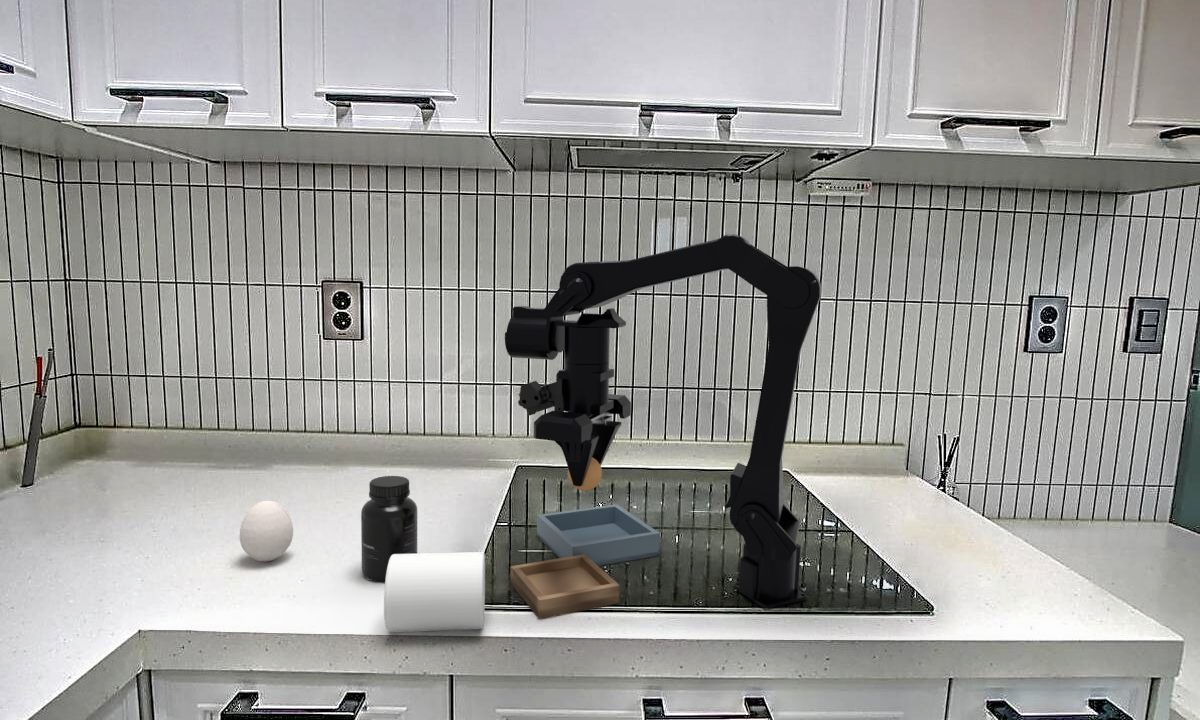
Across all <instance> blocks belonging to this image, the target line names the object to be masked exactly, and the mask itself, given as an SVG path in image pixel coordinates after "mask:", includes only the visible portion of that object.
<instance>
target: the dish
mask: <svg viewBox="0 0 1200 720" xmlns="http://www.w3.org/2000/svg"><path fill="white" fill-rule="evenodd" d="M536 537H537V538H538V539H539V540H540V541H541V542H542V543H543V544H544V545H545V546H546V547H547V548H548V549H549V550H550V551H551V552H552V553H553V554H554V555H555V556H556V557H558V558H564V557H570V556H576V555H582V554H585V555H586V556H587V557H588V558H589V559H591V560H592V561H593V562H594V563H595V564H596V565H597V566H599V567H603V566H606V565H607V566H608V565H612V564H613V565H614V564H618V563H624V562H630V561H635V560H636V561H637V560H641V559H646V558H653V557H658V556H660V543H661V542H660V541H661V539H660V538H661V533H660V532H659V531H657V530H656V529H654V528H653V527H652V526H650V525H649V524H647V523H646V522H645V521H642V520H641V519H639V518H638V517H637V516H635V515H633V514H632V513H631V512H630V511H628V510H626V509H625V508H624V507H622V506H620V505H619V504H617V503H616V504H610V505H602V506H595V507H594V506H593V507H587V508H580V509H579V508H578V509H574V510H573V509H572V510H565V511H557V512H550V513H543V514H537V515H536Z"/></svg>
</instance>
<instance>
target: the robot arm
mask: <svg viewBox="0 0 1200 720" xmlns="http://www.w3.org/2000/svg"><path fill="white" fill-rule="evenodd" d="M725 270H729V271H731V272H732V273H734V274H735V275H737V276H738V277H739V278H741V279H742V280H744V281H745V282H747V283H748V284H750V285H751V286H752V287H754V288H755V289H757V290H758V291H760V292H761V293H763V294H765V296H766V319H767V320H766V321H767V322H766V323H767V335H768V348H767V354H766V359H765V366H764V371H763V376H762V377H763V378H762V383H761V390H760V393H759V400H758V407H757V413H756V419H755V423H754V424H755V425H754V430H753V436H752V442H751V448H750V454H749V458H748V462H747V463H746V464H743V463H740V462H737V463H736V464H735V467H734V468H733V471H732V472H731V474H730V479H729V489H730V490H729V497H728V499H727V501H726V503H725V505H724V508H725V509H730V510H729V521H730V525H731V526H732V527H733V528H734V529H735V531H736V532H737V533H739V534H740V535H741V536H742V538H743V540H744V543H743V549H742V557H740V558H739V559H740V561H739V576H738V577H739V579H738V581H737V582H734V583H733V585H732V586H733V588H734V589H735V590H736V591H738V592H739V593H740V594H742V595H744V596H745V597H747V598H748V599H750V600H751V601H752V602H754V603H755V604H757V605H758V606H760V607H762V608H763V609H773V608H775V607H781V606H785V605H788V604H794V603H797V602H802V601H806V600H807V599H808V595H807V594H806V593H805V592H803V591H802V590H800V589H799V583H800V582H799V581H800V569H801V567H800V566H801V549H802V546H801V544H799V543H797V542H798V536H799V529H800V523H801V522H800V520H799V518H797V517H796V515H795V514H794V513H793V511H791V510H790V509H789V508H788V507H787V506H786V504H785V503H784V471H783V469H784V468H783V454H784V449H785V443H786V436H787V431H788V425H789V420H790V415H791V408H792V402H793V396H794V392H795V387H796V380H797V375H798V370H799V369H798V368H799V364H800V359H801V357H800V356H801V352H802V348H803V345H804V342H805V339H806V337H807V334H808V332H809V328H810V326H811V324H812V321H813V318H814V316H815V313H816V311H817V307H818V305H819V302H820V300H821V297H822V285H821V281H820V279H819V278H818V276H817V275H816V274H815V272H813V271H811V269H809V268H806V267H803V266H799V265H797V266H796V265H795V266H794V265H793V266H787V265H785V264H784V263H782V262H780V260H777V259H775V258H774V257H773V256H771V255H769V254H767V253H765V252H764V251H762V250H761V249H759V248H757V247H756V246H754V245H753V244H752V243H750V242H749V241H748V240H747V239H746V238H744V237H743V236H741V235H738V234H734V233H730V234H729V233H728V234H725V235H723V236H721V237H719V238H717V239H712V240H709V241H704V242H699V243H696V244H691V245H688V246H683V247H679V248H675V249H670V250H667V251H663V252H658V253H654V254H651V255H649V254H648V255H646V256H641V257H637V258H633V259H628V260H627V259H626V260H607V261H605V260H602V261H588V262H587V261H586V262H575V263H572V264H569V265H568V266H567V267H566V268H565V269H564V271H563V272H562V274H561V276H560V280H559V286H558V287H559V288H558V289H557V290H556V292H555V293H554V294H553V296H552V297H551V299H550V300H549V301H548V303H547V304H546V306H545V307H544V308H543V307H531V306H527V305H525V306H523V305H517V306H513V307H512V316H511V317H510V319H509V321H508V323H507V327H506V331H505V333H504V345H505V350H506V352H507V355H508V356H509V357H510V358H515V359H531V360H546V361H547V360H548V361H550V360H552V361H554V359H556V358H557V356H558V354H559V353H563V351H564V353H563V354H564V359H563V360H564V363H563V364H564V369H560V370H557V371H558V372H556V376H555V377H556V379H555V381H554V382H551V383H548V384H545V385H541V384H540V383H539V382H538V381H537V380H533V381H530V382H527V383H524V384H521V385H520V389H519V393H518V397H519V400H518V402H517V404H518V406H520V407H522V408H523V409H524V410H526V413H527V416H533V415H535V414H537V413H538V412H539V413H540V412H541V411H544V410H547V409H550V408H553V407H554V409H553V410H551V411H548V412H546V413H544V414H541V415H540V416H539V417H538V418H537V419H536V420H535V421H533V438H534V439H535V440H542V441H553V442H554V443H556V445H558V446H559V447H560V448H561V451H562V453H563V456H564V458H565V462H566V464H567V470H568V469H569V472H570V476H571V479H572V482H573V485H574V486H579V487H580V486H582V485H583V482H584V479H585V477H586V474H587V471H588V468H589V465H590V462H591V459H592V457H593V458H594V459H596V460H597V461H598V462H599V464H600V466H601V467H602V464H603V462H604V460H605V457H606V455H607V453H608V451H609V449H610V448H611V445H612V443H613V441H614V439H615V437H616V435H617V433H618V431H619V429H620V427H621V426H622V422H621V421H614V420H613V416H612V415H619V418H620V419H622V420H624V419H627V418H628V417H630V416H631V414H632V413H631V411H632V410H631V409H632V407H631V406H632V402H631V401H630V399H628V397H627V396H626V395H624V394H615V393H614V394H613V393H611V394H610V393H609V391H610V390H609V385H610V384H609V383H610V380H609V379H612V378H615V369H614V368H610V338H611V337H610V329H619V328H624V327H625V326H626V325H627V321H625V320H624V319H623V318H622V317H621V316H620V315H619V314H618V313H617V311H616V309H615V308H614V307H613V308H611V307H610V308H607V309H606V310H605V311H604V312H603V313H585V312H584V311H585V310H589V309H590V310H591V309H596V308H597V309H598V308H601V307H605V306H606V305H610V304H611V303H613V302H616V301H618V300H621V299H623V298H625V297H627V296H629V295H631V294H633V293H636V292H638V291H640V290H643V289H645V288H650V287H655V286H659V285H663V284H668V283H672V282H676V281H682V280H685V279H690V278H695V277H699V276H703V275H707V274H712V273H716V272H721V271H725ZM582 312H584V313H582ZM578 314H580V316H579V317H578V319H577V320H568V319H567V320H565V319H564V317H565V316H572V315H578ZM573 485H572V486H573ZM574 486H573V487H574Z"/></svg>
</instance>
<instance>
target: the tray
mask: <svg viewBox="0 0 1200 720" xmlns="http://www.w3.org/2000/svg"><path fill="white" fill-rule="evenodd" d="M510 584H511V585H512V587H513V588H514V590H515V591H516V592H517V594H518V595H519V596H520V597H521V598H522V600H523V601H524V602H525V604H526V605H527V606H528V608H529V609H530V610H531V611H532V612H533V613H534V615H535V616H536V617H537V619H538V620H541V619H542V620H543V619H547V618H552V617H557V616H562V615H567V614H573V613H576V612H577V613H578V612H582V611H586V610H587V611H588V610H591V609H597V608H602V607H603V608H604V607H606V606H611V605H616V604H620V590H621V589H620V588H621V587H620V586H621V585H620V584H619V583H618V582H617V581H616V580H614V579H613V578H612V577H611V576H610V575H608V574H607V573H606V571H604V570H603V569H602V568H601V566H597V565H596V564H595V563H594V562H593V561H592V560H591V559H589V558H588V557H587V556H586V555H585V554H582V555H576V556H570V557H564V558H559V557H558V558H553V559H546V560H541V561H534V562H529V563H528V562H527V563H523V564H517V565H510Z"/></svg>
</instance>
